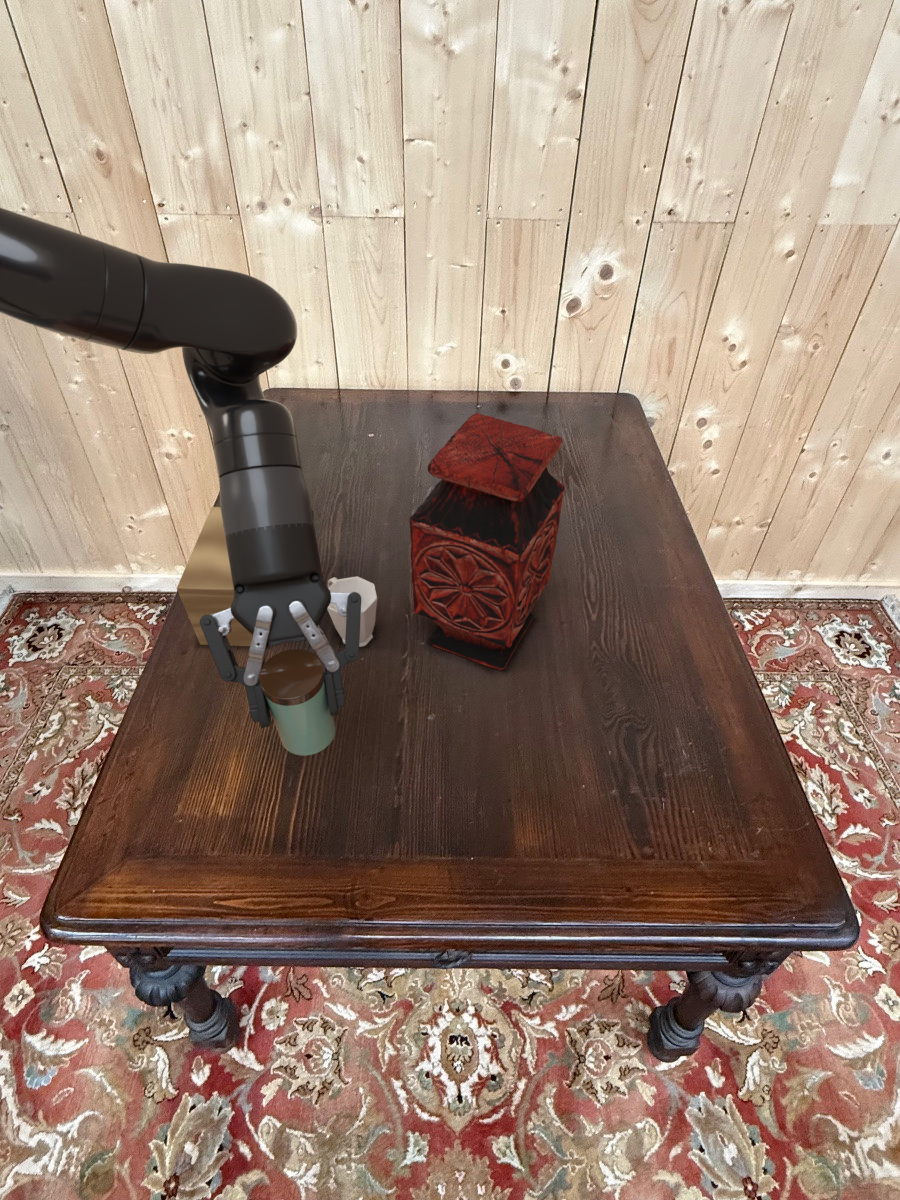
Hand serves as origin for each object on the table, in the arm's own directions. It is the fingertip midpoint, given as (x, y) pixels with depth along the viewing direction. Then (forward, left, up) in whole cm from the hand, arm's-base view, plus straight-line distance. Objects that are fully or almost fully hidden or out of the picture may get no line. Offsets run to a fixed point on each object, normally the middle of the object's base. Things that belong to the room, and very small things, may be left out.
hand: (301, 719), depth 60 cm
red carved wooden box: (+33, +2, -21) cm, 39 cm away
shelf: (+18, +33, -21) cm, 43 cm away
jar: (+1, +1, -5) cm, 5 cm away
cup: (+23, +17, -21) cm, 36 cm away
